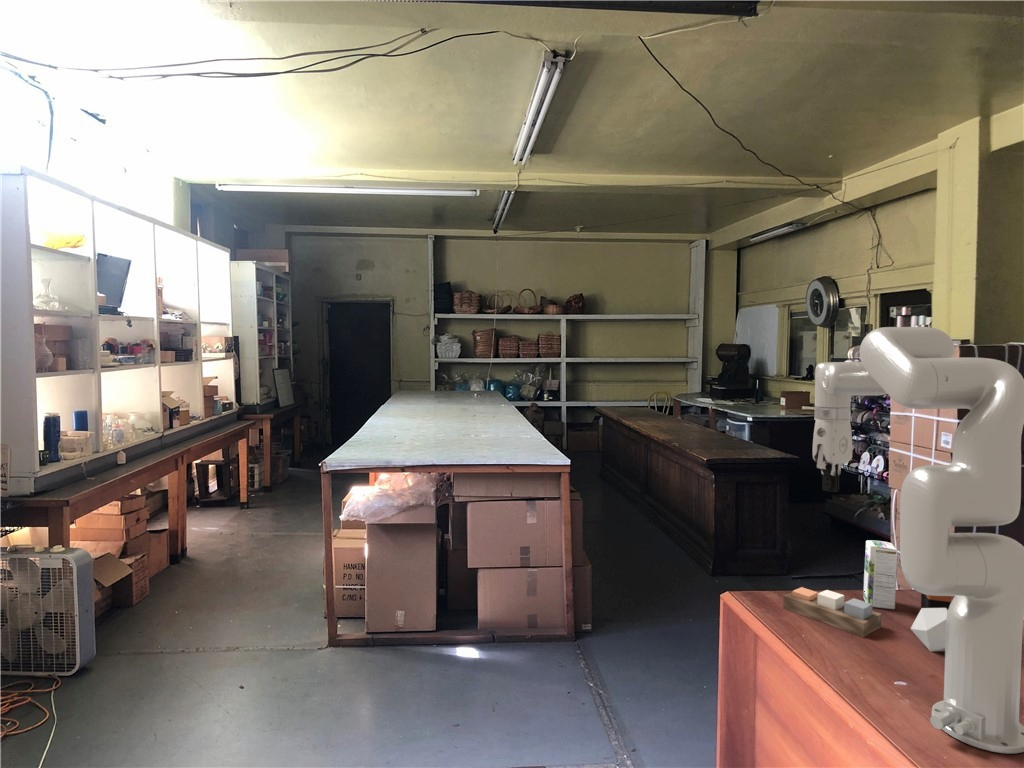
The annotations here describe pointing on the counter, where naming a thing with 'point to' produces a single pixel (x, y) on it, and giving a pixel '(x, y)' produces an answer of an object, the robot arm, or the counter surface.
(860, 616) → the grey button
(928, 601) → the battery
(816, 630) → the counter surface
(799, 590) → the peach square block
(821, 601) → the cream button
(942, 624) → the die
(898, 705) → the counter surface
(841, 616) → the button board
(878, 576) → the syrup box
